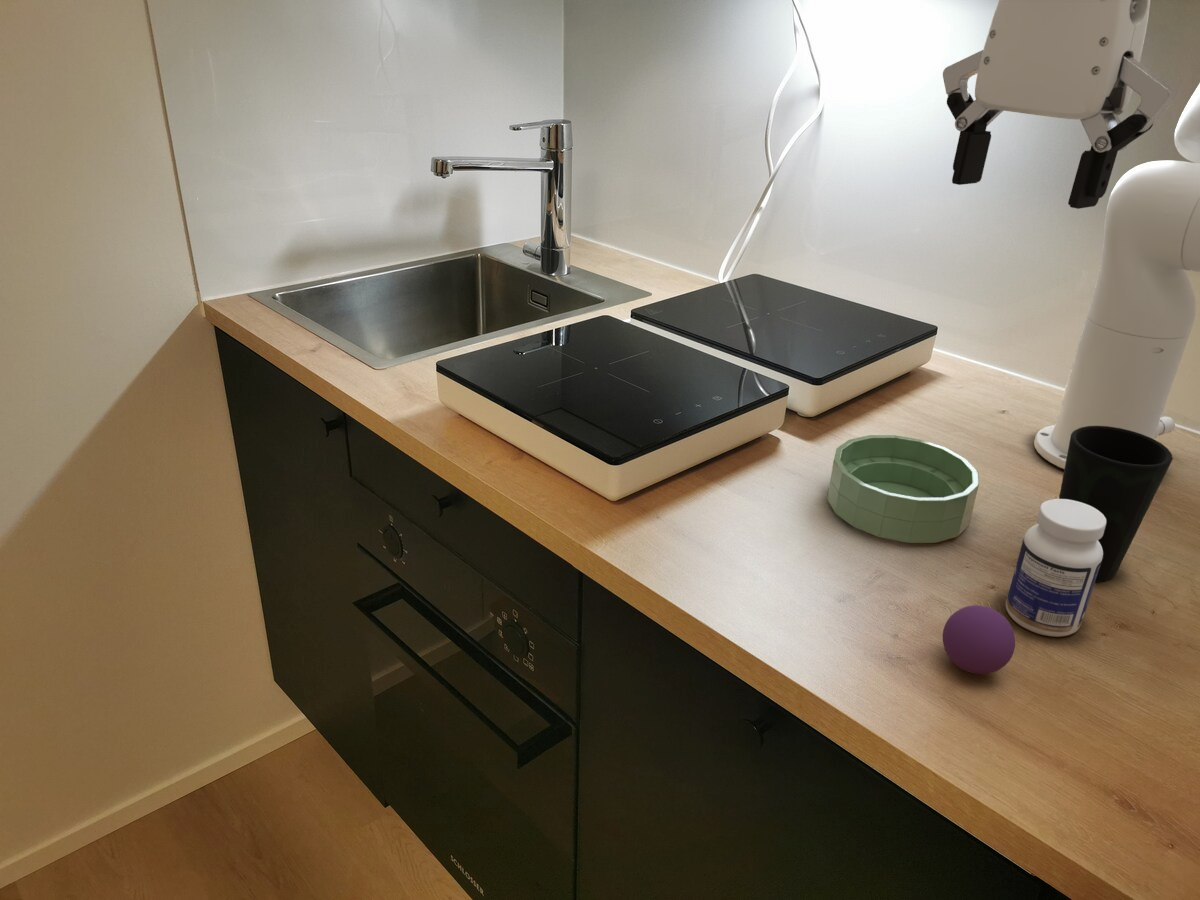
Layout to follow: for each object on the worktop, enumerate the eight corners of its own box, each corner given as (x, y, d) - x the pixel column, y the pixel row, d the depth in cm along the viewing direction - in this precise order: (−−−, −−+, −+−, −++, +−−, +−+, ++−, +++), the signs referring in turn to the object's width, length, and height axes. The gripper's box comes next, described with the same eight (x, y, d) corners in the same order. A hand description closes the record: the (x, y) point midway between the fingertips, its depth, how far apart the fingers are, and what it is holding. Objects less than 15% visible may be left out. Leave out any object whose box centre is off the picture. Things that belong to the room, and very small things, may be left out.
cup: (1141, 595, 78) (1187, 471, 72) (1046, 582, 79) (1084, 459, 73) (1114, 547, 84) (1154, 430, 79) (1027, 535, 86) (1061, 420, 80)
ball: (969, 637, 72) (984, 585, 69) (1021, 677, 68) (1038, 623, 65) (922, 654, 70) (935, 601, 67) (972, 696, 66) (988, 641, 63)
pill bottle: (1031, 589, 78) (1062, 487, 73) (1094, 625, 74) (1131, 520, 69) (989, 609, 75) (1018, 505, 70) (1051, 648, 71) (1087, 540, 66)
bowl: (899, 468, 97) (908, 426, 95) (997, 529, 86) (1009, 483, 84) (800, 492, 91) (806, 448, 89) (891, 560, 81) (901, 512, 79)
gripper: (1244, -55, 59) (1158, 212, 66) (1001, -53, 71) (951, 173, 78) (1195, -65, 55) (1109, 221, 62) (945, -62, 67) (898, 178, 74)
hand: (1021, 194), depth 70 cm, fingers open, 9 cm apart
